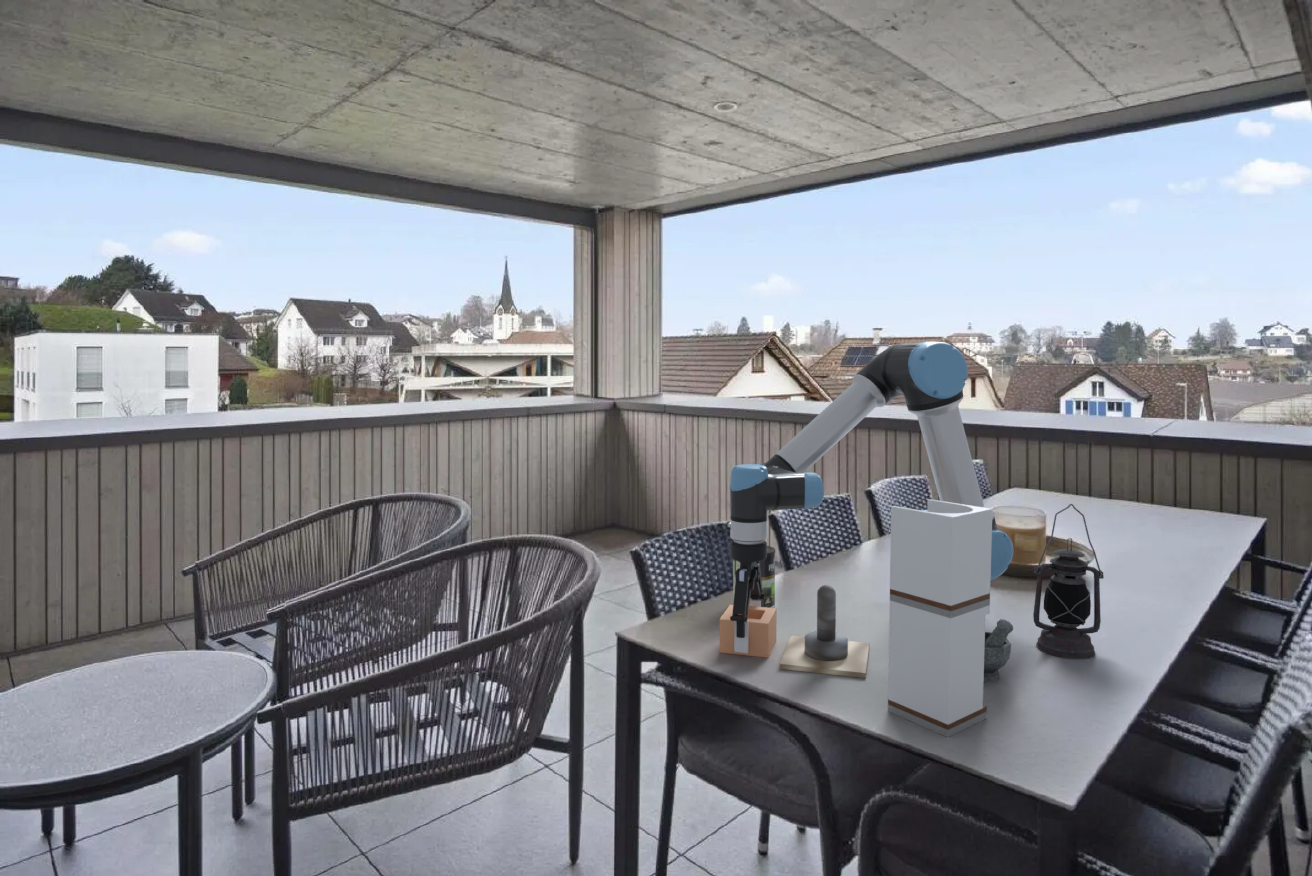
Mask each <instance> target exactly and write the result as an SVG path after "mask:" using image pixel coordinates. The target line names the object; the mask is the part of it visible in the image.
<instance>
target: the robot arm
mask: <svg viewBox="0 0 1312 876" xmlns="http://www.w3.org/2000/svg"><path fill="white" fill-rule="evenodd" d="M968 367H969V366H968V364H967V361H966V358H965V357H964V355H963V353H962V352H961V351H960V350H959V349H958V348H956V347H955V346H953V345H952V344H950V343H947V342H943V341H940V342H939V341H936V340H935V341H933V340H928V341H919V342H903V343H897V344H894V345H892V346H889V347H887V348H886V349H885V350H883V351H881V352H880V353H879V354H878V355H876V356H875V357H874V358H872V359H871V360H870V361H869V362H868V363H867V364H866V365H865V366H863V367H862V368H861V369H860V370H859V371H858V372H856V374H855V375H853V377H852V383H851V384H850V385H849V386H848V387H847V388H846V389H845V390H844V391H842V393H841V394H839V395H838V397H836V398H835V399H834V400H833V401H832V402H831V403H830V404H828V405H827V407H825V408H824V409H823V410H822V411H821V412H819V414H818V415H816V416H815V418H813V419H812V420H811V421H810V422H809V423H808V424H807V425H805V426H804V427H803V428H802V429H801V430H800V431H799V432H798V433H797V434H796V435H794V437H792V439H790V440H789V442H787V443H786V444H785V445H784V446H783V447H782V448H780V449H779V450H778V451H777V452H776V453H775V454H774V455H773V456H772V457H771V458H770V459H768V460H767V461H766V462H762V463H761V462H760V463H758V464H756V463H755V464H754V463H752V464H750V463H747V464H746V463H743V464H737V465H734V466H733V467H732V468H731V470H730V477H729V479H730V482H729V498H730V499H729V502H730V503H729V505H730V509H729V510H730V522H729V523H727V528H730V529H729V530H730V531H729V532H730V537H729V538H730V539H731V541H730V542H729V557H730V558H731V560H732V561H733V560H735V561H738V562H740V569H737V570H736V573H735V574H736V583H735V593H734V603H732V605H733V614H732V616H730V620H731V621H734V652H741V653H748V636H749V620H748V618H747V617H748V609H749V606H755V607H761V600H759V599H764V594H762V592H763V590H762V580H761V570H760V562H761V561H763V560H765V559H766V558H767V546H768V543H767V542H766V540H767V539H768V511H780V510H786V511H787V510H802V509H803V510H806V509H807V510H808V509H814V508H818V507H819V506H821V504H822V503H823V499H824V496H825V495H824V493H825V487H824V482H823V480H822V478H821V475H819V474H818V473H816V472H809V469H810V468H811V467H812V466H813V465H815V464H817V462H818V461H819V460H820V459H821V458H822V457H823V456H825V454H827V453H828V451H830V450H831V449H832V448H833V447H834V446H835V445H836V444H838V443H839V441H841V440H842V439H843V438H844V437H845V436H846V435H847V434H848V433H849V432H851V431H852V430H853V429H854V428H855V427H856V426H857V425H858V424H859V423H860V422H861V421H863V419H865V418H866V417H867V416H868V415H869V414H870V413H871V412H872V411H873V410H874V409H876V408H883V407H884V406H886V405H887V403H888V404H889V402H890V401H891V400H893V399H895V398H896V399H897V397H900V396H903V397H904V400H905V403H906V408H907V411H908V412H910V413H911V414H914V415H915V416H916V417H917V419H918V423H919V427H920V431H921V436H922V438H923V443H924V447H925V450H926V454H927V458H928V462H929V465H930V469H931V472H932V476H933V480H934V483H935V487H936V490H937V491H936V492H937V495H938V497H939V498H938V499H939V501H945V502H952V503H958V504H964V505H971V506H977V507H983V508H986V507H985V505H984V501H983V496H982V494H981V489H980V486H979V481H978V477H977V474H976V470H975V466H974V461H973V459H972V454H971V450H970V448H969V447H970V446H969V442H968V439H967V434H966V432H965V427H964V423H963V419H962V415H961V411H960V408H959V404H960V403H961V402H962V401H963V399H964V394H963V389H964V388H965V385H966V381H967V380H968V378H969V377H968V376H969V368H968ZM807 471H808V472H807ZM921 511H927V509H921ZM994 514H995V513H994V512H992V546H991V580H990V581H992V580H995V579H998V578H999V577H1000V576H1001V575H1003V574H1004V573H1005V572H1006V571H1007V570H1008V568H1009V565H1010V564H1011V562H1012V560H1013V558H1014V557H1013V556H1014V545H1013V541H1012V540H1011V537H1010V536H1009V535H1008V534H1006V532H1004V531H1003V530H999V529H998V526H997V525H998V524H997V521H996V517H995V515H994ZM750 598H751V599H750ZM738 614H742V615H738Z"/></svg>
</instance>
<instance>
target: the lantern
mask: <svg viewBox="0 0 1312 876" xmlns="http://www.w3.org/2000/svg"><path fill="white" fill-rule="evenodd" d="M1071 506H1072V508H1073V509H1074V511H1076V512H1077V513H1078V514H1079V515H1081V516H1082V520H1083V524H1084V526H1085V527H1084V528H1085V532H1086V535H1087V539H1088V543H1089V546H1090V547H1091V550H1092V552H1093V556H1094V559H1095V563H1096V567H1097V568H1096V567H1094V566H1089V563H1088V562H1086V561H1085V560H1083V559H1080V558H1084V557H1085V556H1086V554H1085V553H1083V552H1081V551H1079V550H1075V549H1073V538H1071V537H1070V538H1067V540H1066V543H1067V544H1066V548H1061V549H1056V550H1054V551H1053V554H1054V555H1056V556H1058V557H1054V558H1051V559H1050V560H1049V563H1042V561H1043V558H1044V555H1045V553H1046V550H1047V548H1048V546H1049V545H1050V543H1051V541H1052V539H1053V536H1054V532H1055V527H1056V520H1057V515H1059V514H1061V513H1062V512H1064V511H1066V510H1067V509H1069V508H1070V507H1071ZM1053 518H1054V519H1053V525H1052V530H1051V534H1050V538H1049V540H1048V541H1047V542H1046V545H1045V547H1044V549H1043V552H1042V554H1041V557H1040V559H1039V561H1038V564H1037V565H1034V568H1033V569H1034V571H1033V573H1034V574H1036V575H1037V577H1036V588H1035V598H1034V605H1033V616H1032V617H1033V622H1034V625H1035V627H1036V628H1039V629H1042V630H1041V631H1040V636H1038V638H1037V642H1036V643H1035V646H1036V648H1037V650H1038V649H1039V651H1041V652H1042V653H1045V654H1048V655H1050V656H1054V657H1058V658H1059V657H1060V658H1064V659H1071V660H1086V659H1090V658H1093V657H1094V656H1095V655H1096V651H1095V645H1093V643H1092V637H1091V636H1090V634H1094V633H1098V631H1099V630H1100V628H1101V594H1100V593H1101V591H1100V589H1101V588H1100V587H1101V585H1100V579H1101V580H1102V579H1104V578H1105V577H1104V572H1103V571H1102V569H1101V568H1100V564H1099V561H1098V558H1097V554H1096V551H1095V549H1094V547H1093V544H1092V542H1091V538H1090V535H1089V531H1088V526H1087V522H1086V517H1085V515H1084V514H1083V513H1082V512H1081V511H1080V510H1078V508H1076V507H1075V505H1074V504H1073V503H1069V504H1068V506H1067V507H1065V508H1062V510H1059V511H1058V512H1056V513H1054V517H1053ZM1069 540H1070V548H1069ZM1046 569H1050V571H1051V572H1053V573H1054V574H1053V575H1051V577H1050V581H1049V583H1047V584H1046V588H1045V591H1044V598H1043V610H1044V612H1045V613H1046V616H1047V619H1048V620H1049V621H1050V623H1052V624H1054V626H1053V625H1050V624H1046V623H1044V622H1041V621H1040V611H1041V600H1042V591H1043V590H1042V588H1043V578H1044V577H1043V575H1044V570H1046ZM1087 571H1088V572H1091V573H1092V574H1093V625H1092V626H1090V627H1083V628H1079V627H1080V626H1084V625H1085V624H1086V620H1087V619H1088V618H1089V617H1090V615H1091V607H1092V603H1091V590H1089V589H1088V587H1087V585H1086V582H1087V581H1086V579H1084V578H1083V576H1084V575H1087Z"/></svg>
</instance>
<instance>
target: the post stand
mask: <svg viewBox="0 0 1312 876" xmlns="http://www.w3.org/2000/svg"><path fill="white" fill-rule="evenodd" d="M816 593H817V594H816V595H817V597H816V599H817V600H816V631H811V632H808V633H806V634H805V635H804V636H800V635H799V636H798V635H791V636H790V638H789V640H788V643H787V645H786V647H785V650H784V653H783V655H782V658H781V660H780V662H779V670H787V671H788V670H789V671H797V672H807V673H814V674H824V675H834V676H844V677H851V678H854V677H855V678H860V679H866V676H867V671H868V670H867V669H868V661H869V653H870V642H862V641H851V640H849V639H848V637H847V636H845V635H844V634H841V633H839V632H836V630H837V629H836V627H837V626H836V625H837V624H836V621H837V619H836V617H837V616H836V613H837V609H836V608H837V593H836V590H835V589H834V587H832V586H831V585H829V584H824V585H821V586H820V587H818V589H817V592H816Z"/></svg>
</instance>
